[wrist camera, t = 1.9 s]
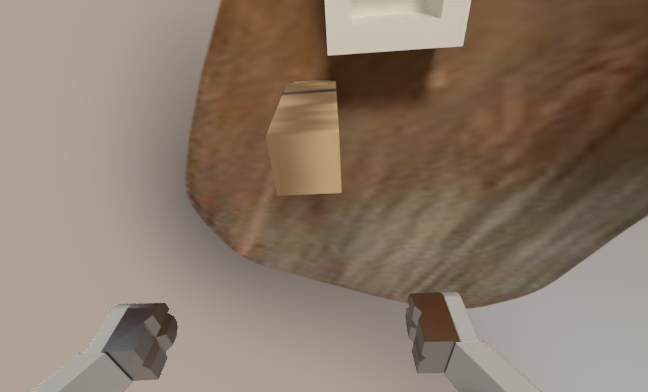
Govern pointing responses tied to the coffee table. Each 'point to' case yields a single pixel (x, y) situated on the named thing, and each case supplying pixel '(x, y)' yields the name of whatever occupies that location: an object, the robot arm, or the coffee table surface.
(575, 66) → the coffee table surface
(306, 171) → the oak peg
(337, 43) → the socket board
